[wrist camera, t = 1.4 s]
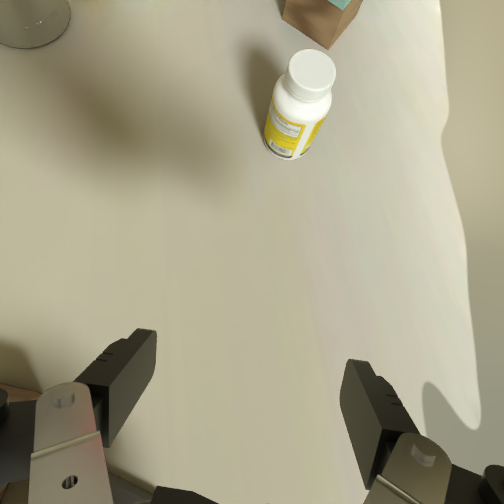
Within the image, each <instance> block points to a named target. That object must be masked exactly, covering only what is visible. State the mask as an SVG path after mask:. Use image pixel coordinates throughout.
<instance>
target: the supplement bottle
mask: <svg viewBox="0 0 504 504" xmlns="http://www.w3.org/2000/svg"><path fill="white" fill-rule="evenodd" d="M335 77H336V69H335V65H334V63H333V62H332V60H331V59H330V58H329V57H328V56H327V55H326V54H324V53H322V52H320V51H317V50H313V49H305V50H301V51H299V52H297V53H295V54H294V55H293V56H292V57H291V59H290V61H289V64H288V67H287V70H286V72H285V73H284V74H283V75H281V76H280V78H279V79H278V80H277V82H276V84H275V87H274V90H273V94H272V98H271V103H270V107H269V111H268V116H267V120H266V124H265V129H264V143H265V145H266V147H267V149H268V150H269V152H270V153H271V154H273V155H274V156H276V157H277V158H280V159H283V160H294V159H297V158H300V157H301V156H303V155H304V154H305V153H306V152H307V150H308V149H309V147H310V145H311V143H312V141H313V139H314V138H315V136H316V134H317V132H318V130H319V128H320V126H321V124H322V122H323V120H324V119H325V117H326V115H327V113H328V111H329V108H330V106H331V102H332V94H331V87H332V85H333V82H334V80H335Z"/></svg>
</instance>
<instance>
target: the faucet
mask: <svg viewBox="0 0 504 504" xmlns="http://www.w3.org/2000/svg"><path fill="white" fill-rule="evenodd" d="M107 472H108V471H107ZM108 477H109V483H110V488H111V493H112V499H113V504H135V503H139V502H142V501H147V500H152V497H153V494H151V493H149V492H147V491H145V490H143V489H141V488H139V487H137V486H135V485H133V484H131V483H129V482H127V481H125V480H123V479H121V478H120V477H118V476H116V475H114V474H112V473H110V472H108Z"/></svg>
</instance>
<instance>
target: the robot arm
mask: <svg viewBox="0 0 504 504" xmlns="http://www.w3.org/2000/svg"><path fill="white" fill-rule="evenodd" d="M69 19H70V8H69V5H68V2H67V0H0V43H2V44H4V45H7V46H11V47H16V48H32V47H38V46H41V45H45V44H47V43H49V42H51V41H53V40H55V39H56V38H57V37H59V36H60V35H61V34H62V33H63V31H64V30H65V29H66V27H67V25H68V23H69ZM156 343H157V333H156V331H154V330H147V329H140V328H137V329H136V330H135V331H134V332H133V333H132V334H131V335H130V336H129V338H128V339H123V338H122V339H120V340H118V341H116V342H114V343H112V344H110V345H109V346H108V347H107V348H106V349H105V350H104V351H103V353H102V354H100V355H99V356H98V357H97V358H96V360H94V361H93V362H92V363H91V364H90V365H89V366H88V367H87V368H86V369H85V370H84V371H83V372H82V373H81V374H80V375H79V376H78V377H77V378H76V379H75V380H74V381H73V382H68V383H63V384H59V385H57V386H54V387H52V388H50V389H48V390H47V391H45V392H44V393H43V394H42V395H41V396H40V397H39V398H38V400H29V401H18V402H9V399H8V393H7V391H6V390H4V389H1V388H0V492H1V491H2V490H3V489H4V488H5V486H6V485H7V484H8V483H10V482H16V481H22V480H29V479H30V481H29V497H28V504H113V499H112V493H111V488H110V483H109V477H108V472H107V466H106V461H105V456H104V450H103V447H106V448H109V447H110V445H111V444H112V442H113V440H114V439H115V437H116V435H117V434H118V432H119V431H120V429H121V427H122V426H123V424H124V422H125V421H126V419H127V417H128V416H129V414H130V413H131V411H132V409H133V408H134V406H135V404H136V403H137V401H138V400H139V398H140V396H141V395H142V393H143V391H144V390H145V388H146V387H147V385H148V383H149V382H150V380H151V378H152V376H153V373H154V369H155V363H156ZM340 407H341V411H342V414H343V417H344V421H345V424H346V427H347V430H348V434H349V437H350V440H351V443H352V447H353V450H354V453H355V456H356V460H357V463H358V466H359V469H360V473H361V476H362V479H363V482H364V486H365V489H366V490H370V491H369V493H368V495H367V497H366V499H365V501H364V503H363V504H504V467H503V466H499V465H489V466H487V467H486V468H485V470H484V473H483V476H481V475H478V474H476V473H473V472H471V471H468V470H466V469H463V468H461V467H458V466H456V465H454V464H452V463H451V461H450V459H449V457H448V455H447V454H446V453H445V451H444V450H443V449H442V448H441V447H440V446H439V445H437V444H436V443H435V442H433V441H432V440H430V439H429V438H427V437H425V436H422V435H421V434H420V433H419V431H418V429H417V427H416V426H415V424H414V422H413V421H412V419H411V417H410V416H409V414H408V412H407V411H406V409H405V407H403V404H402V402H401V400H400V399H399V398H398V395H397V394H396V392H395V390H394V389H393V387H392V386H391V385H390V384H389V383H388V382H387V381H386V380H385V379H384V378H383V377H382V376H376V375H375V373H374V371H373V369H372V367H371V365H370V364H369V362H367V361H361V360H354V359H348V361H347V363H346V368H345V372H344V377H343V381H342V386H341V390H340ZM135 504H218V503H216V502H214V501H212V500H210V499H208V498H205V497H203V496H201V495H199V494H197V493H195V492H193V491H186V490H180V489H174V488H168V487H162V486H156V489H155V492H154V494H153V497H152V500H147V501H142V502H139V503H135Z"/></svg>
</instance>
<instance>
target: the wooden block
mask: <svg viewBox="0 0 504 504" xmlns="http://www.w3.org/2000/svg"><path fill="white" fill-rule="evenodd" d="M0 388H1V389H4V390H6V391H7V393H8V399H9V402H18V401H29V400H38V398H39V397H40V396H41V394H40V393H38V392H34V391H30V390H26V389H22V388H17V387H13V386H9V385H5V384H0ZM6 487H7V485H6V486H5V488H4V489H3V490H2V491H1V492H0V502H1V500H2V497H3V495H4V492H5V490H6Z"/></svg>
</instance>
